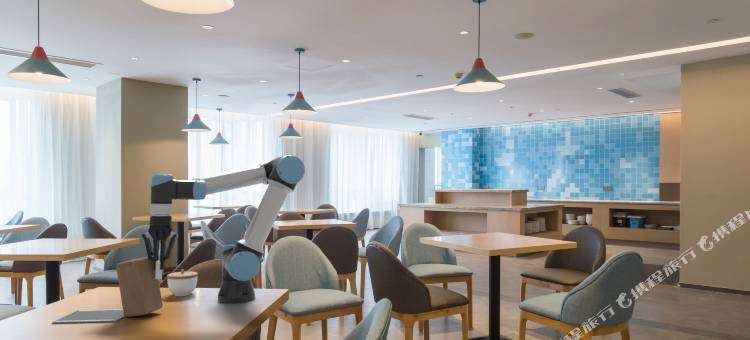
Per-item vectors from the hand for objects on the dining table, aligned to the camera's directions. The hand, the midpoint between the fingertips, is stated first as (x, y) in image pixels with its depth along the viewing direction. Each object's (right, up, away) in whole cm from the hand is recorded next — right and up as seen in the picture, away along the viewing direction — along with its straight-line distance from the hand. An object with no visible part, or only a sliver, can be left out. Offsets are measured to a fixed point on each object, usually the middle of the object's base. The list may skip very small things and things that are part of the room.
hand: (158, 278), depth 185 cm
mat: (-22, -14, -2) cm, 26 cm away
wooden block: (-5, -13, -1) cm, 14 cm away
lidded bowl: (-4, -15, +35) cm, 38 cm away
